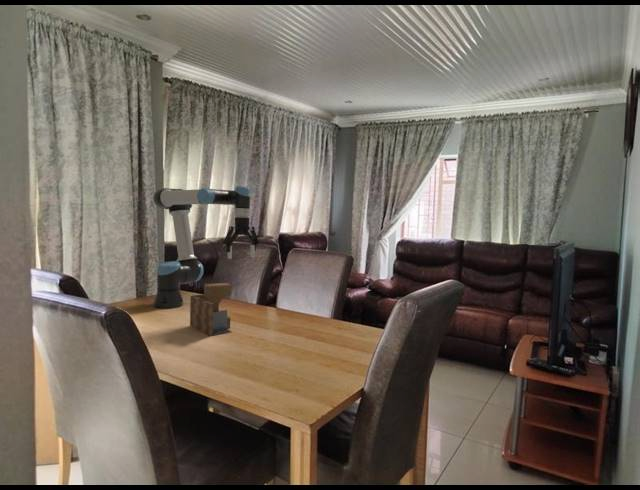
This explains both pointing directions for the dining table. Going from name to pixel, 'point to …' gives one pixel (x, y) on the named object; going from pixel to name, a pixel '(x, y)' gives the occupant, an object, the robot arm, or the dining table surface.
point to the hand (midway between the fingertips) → (241, 258)
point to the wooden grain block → (201, 314)
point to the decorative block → (217, 295)
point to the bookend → (220, 323)
